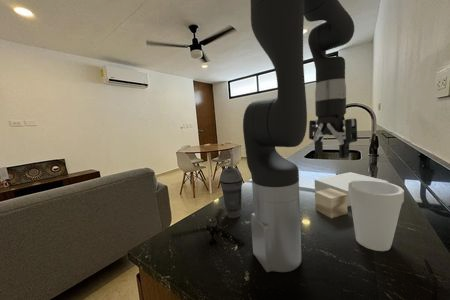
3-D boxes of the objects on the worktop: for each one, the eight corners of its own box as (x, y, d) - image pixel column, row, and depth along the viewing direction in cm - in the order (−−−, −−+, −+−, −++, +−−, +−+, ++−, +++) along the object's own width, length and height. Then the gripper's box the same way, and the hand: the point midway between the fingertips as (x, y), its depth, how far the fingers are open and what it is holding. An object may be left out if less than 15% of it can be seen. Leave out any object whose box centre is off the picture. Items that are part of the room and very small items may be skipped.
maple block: (331, 218, 54) (331, 198, 54) (315, 209, 60) (315, 191, 59) (347, 213, 56) (347, 194, 55) (330, 205, 62) (330, 188, 61)
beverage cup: (233, 207, 67) (228, 150, 64) (250, 213, 61) (245, 151, 58) (218, 215, 62) (212, 154, 59) (234, 222, 56) (229, 156, 53)
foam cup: (347, 226, 50) (347, 178, 48) (394, 234, 45) (396, 181, 43) (349, 249, 42) (349, 192, 40) (406, 261, 37) (410, 198, 35)
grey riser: (348, 206, 60) (348, 191, 59) (314, 192, 73) (314, 179, 73) (388, 195, 65) (388, 181, 65) (350, 183, 79) (350, 172, 78)
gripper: (301, 102, 59) (302, 154, 61) (342, 95, 45) (342, 161, 48) (320, 101, 61) (321, 151, 63) (365, 93, 48) (364, 157, 50)
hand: (330, 155), depth 56 cm, fingers open, 8 cm apart
